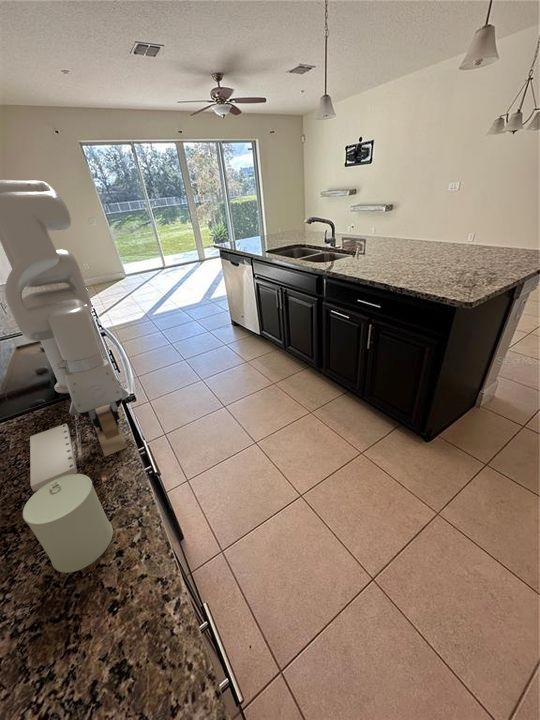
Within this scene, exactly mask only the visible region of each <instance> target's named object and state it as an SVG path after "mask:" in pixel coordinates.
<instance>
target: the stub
mask: <svg viewBox="0 0 540 720" xmlns="http://www.w3.org/2000/svg"><path fill="white" fill-rule="evenodd" d="M94 411H95V412H96V413H97V416H98V418H99V421H100V424H101V426H102V429H103V430H102V431H101V432H100V430H99V427H98V428H95V427H94V429H95V432H96V435H97V438H98V441H99V444H100V447H101V450H102V453H103V456H104V457H108V456H110V455H112V454H114V453H116V452H117V453H118V452H119V451H122V450H124V449H126V448H128V444H127V442H126V439H125V437H124V434H123V433H122V431H121V429H120V426H119V425H116V422H115V419H114V417H113V415H112V413H111V410H110V406H109V404H107V405H105V406H102V407H99V408H96V409H94Z"/></svg>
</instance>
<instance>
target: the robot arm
mask: <svg viewBox="0 0 540 720" xmlns="http://www.w3.org/2000/svg"><path fill="white" fill-rule="evenodd" d="M71 220H72V219H71V214H70V212H69V209H68V207H67V205H66V203H65V201H64V199H63V198H62V197H61V195H60V194H59V193H58V192H57V191H56V190H55V189H54V188H53V187H52V186H51V185H50V184H49V183H48V182H45V181H42V180H33V179H32V180H27V179H26V180H25V179H24V180H22V179H20V180H18V179H0V244H1V246H2V249H3V251H4V253H5V256H6V258H7V260H8V263H9V265H10V268H11V270H10V272H9V274H8V277H7V278H6V282H5V287H4V288H5V289H4V291H5V292H4V293H5V299H6V303H7V305H8V308H9V310H10V312H11V314H12V316H13V319H14V321H15V323H16V325H17V328H18V329H19V331H20V333H21V335H23V337H25V338H26V339H27V340H28V341H32V342H40V343H41V346H42V348H43V350H44V353H45V355H46V357H47V360H48V362H49V364H50V367H51V369H52V371H53V373H54V376H55V378H56V381H57V382H56V384H55V385H54V392H55V391H56V392H57V393H58V394H59V393H60V394H69V395H70V398H71V403H70V408H69V411H68V412H69V415H70V416H76V417H77V416H81V417H85V418H89V420H92V422H93V426H94V429H95V428H98V427H99V430H100V432H101V431H102V430H103V429H102V426H101V424H100V421H99V418H98V416H97V413H96V411H95V409H96V408H99V407H102V406H105V405H107V404H108V405H110V406H109V408H110V410H111V413H112V415H113V417H114V419H115V422H116V425H118V426H119V421H120V420H121V418H120V415H119V412H118V410H119V407H120V406H121V404H122V402H123V401H124V400H125V399H126V398H128V397H129V395H130V394H129V392H128V390H126V389H125V388H123V387H122V386H121V385H120V384H119V381H118V378H117V376H116V373H115V372H114V368H113V367H112V365H111V363H110V362H109V361H108V360H107V359H106V358H105V359H104V356H103V353H102V350H101V346H100V343H99V341H98V339H97V335H96V333H95V329H94V326H93V324H92V321H93V316H92V315H93V314H92V311H93V310H92V309H93V306H92V302H91V301H92V300H91V298H90V294H89V292H88V288H87V286H86V283H85V281H84V277H83V274H82V271H81V269H80V266H79V263H78V260H77V259H76V257H75V256H74V254H72V252H70V251H69V250H67V249H56V247H55V244H54V243H53V241H52V238H51V236H50V234H49V232H52V231H65V230H68V229H70V227H71V224H72V223H71V222H72V221H71ZM60 284H66V285H67V286H65V287H64V286H63V287H59V288H54V289H53V288H52V289H47V290H40V291H35V292H32V293H29V294H27V295H25V296H24V297H23V291H24V289H25V288H42V287H49V286H54V285H60Z"/></svg>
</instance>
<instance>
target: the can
mask: <svg viewBox="0 0 540 720" xmlns="http://www.w3.org/2000/svg"><path fill="white" fill-rule="evenodd" d="M22 518H23V520H24V521H25V523H26V524H27V525H28V527H29V528H30V529H31V531H32V533H33V534H34V536H35V537H36V539H37V540H38V542H39V543H40V545H41V546H42V548H43V549H44V552H45V553H46V554H47V556H48V558H49V559H50V560H49V561H51V565H52V567H53V568H54V570H56V571H57V572H59V573H65V574H67V573H74V572H77V571H81V570H82V569H85V568H86V567H88V566H90V565H91V564H93V563H94V562H96V561H97V560H98V559H99V558H100V557H101V556H103V554H104V553H105V551H106V550H107V549H108V547H109V546H110V544H111V541H112V538H113V535H114V530H113V525H112V524H111V522H110V521H109V519H108V517H107V515H106V513H105V511H104V508H103V506H102V504H101V502H100V499H99V497H98V494H97V492H96V490H95V487H94V485H93V482H92V479H91V478H90V477H89V476H87V475H85V474H81V473H75V474H71V475H66V476H63V477H60V478H58V479H55V480H53V481H51V482H50V483H48V484H46V485H45V486H43V487H42V488H40V489H38V490H36V491H35V492H34V493H33V494H32V495H31V497H30V498H29V499H28V500H27V501H26V503H25V505H24V507H23V510H22Z"/></svg>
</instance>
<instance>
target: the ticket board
mask: <svg viewBox="0 0 540 720" xmlns="http://www.w3.org/2000/svg"><path fill="white" fill-rule="evenodd" d="M29 440H30V441H29V447H30V448H29V449H30V450H29V451H30V453H29V454H30V455H29V457H30V458H29V460H30V462H29V463H30V468H29V469H30V470H29V471H30V474H29V475H30V476H29V477H30V488H31V490H32V491H33V492H34V493H35V492H37V491H38V490H39V489H40V488H42V487H43V486H45V485H46V484H48V483H50V482H51V481H53V480H55V479H58V478H60V477H63V476H66V475H71V474H78V468H77V464H76V463H77V462H76V459H75V454H74V453H75V452H74V448H73V443H72V438H71V434H70V428H69V426H68V424H67V423H63V424H62V425H58V426H56V427H52V428H50V429H48V430H45V431H42V432H38V433H36V434H32V435H30V436H29Z"/></svg>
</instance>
